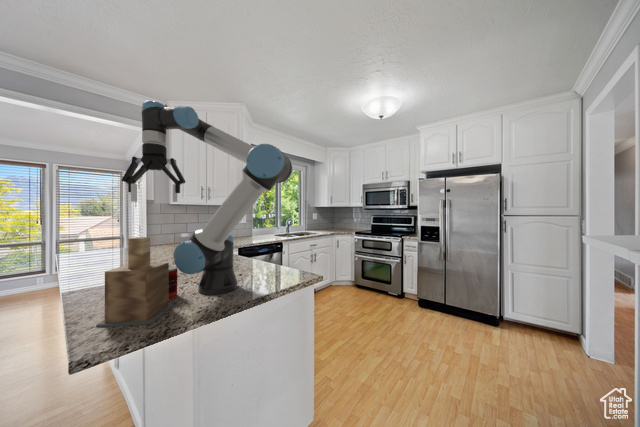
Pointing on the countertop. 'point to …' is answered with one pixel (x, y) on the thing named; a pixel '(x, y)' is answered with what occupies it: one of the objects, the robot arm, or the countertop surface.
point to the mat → (103, 324)
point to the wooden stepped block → (136, 286)
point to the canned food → (172, 282)
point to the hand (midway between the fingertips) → (155, 201)
